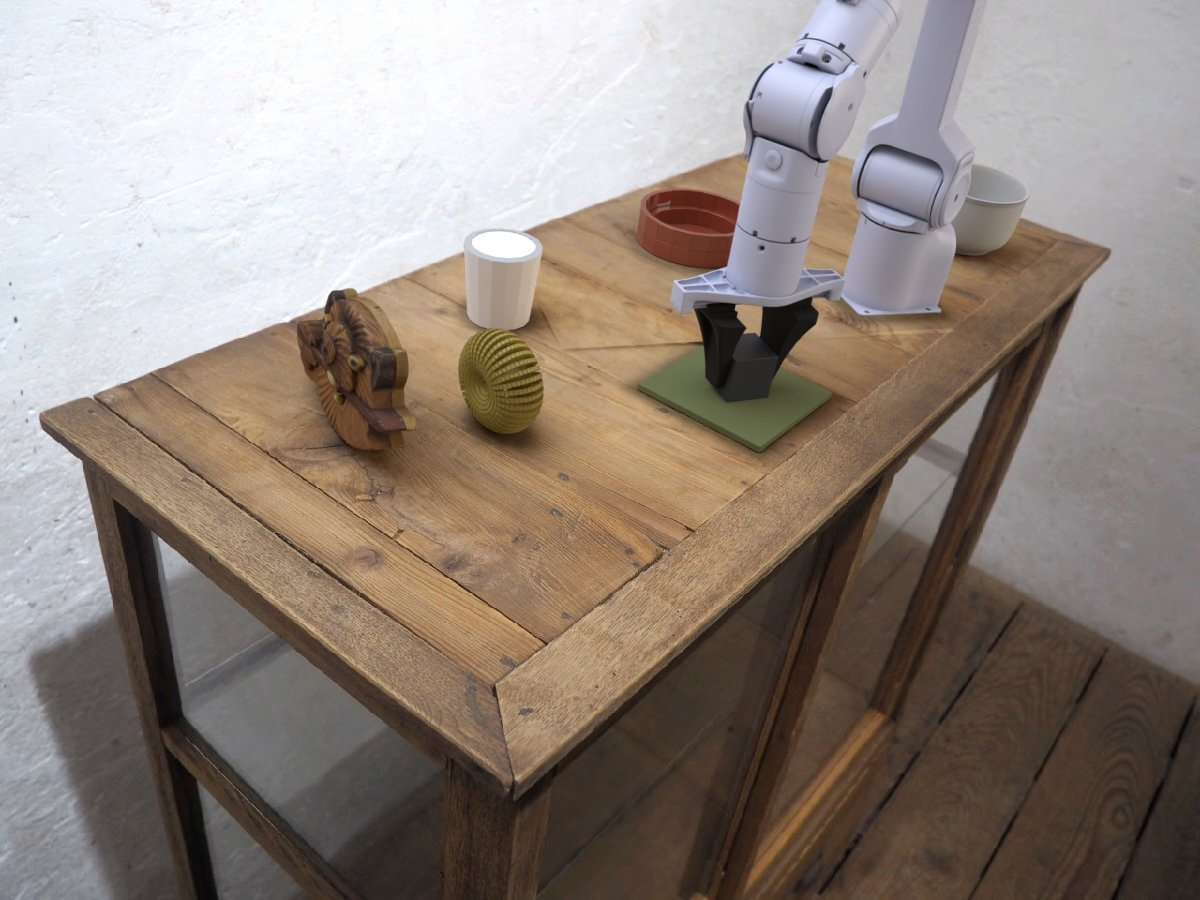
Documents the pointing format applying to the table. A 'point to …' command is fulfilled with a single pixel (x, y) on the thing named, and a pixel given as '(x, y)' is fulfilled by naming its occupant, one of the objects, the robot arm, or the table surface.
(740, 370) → the block
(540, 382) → the sculpture
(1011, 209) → the teacup
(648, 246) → the bowl
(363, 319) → the wooden carving
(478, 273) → the white cylinder
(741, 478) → the table surface
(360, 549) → the table surface
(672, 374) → the pad
